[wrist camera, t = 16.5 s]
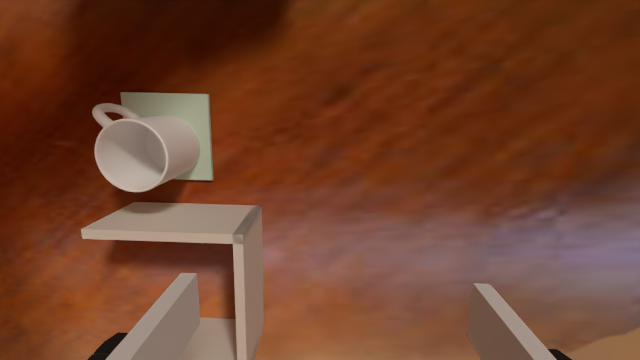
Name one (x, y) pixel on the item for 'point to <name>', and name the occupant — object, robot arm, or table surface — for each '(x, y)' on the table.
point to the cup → (143, 148)
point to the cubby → (204, 227)
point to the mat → (182, 107)
